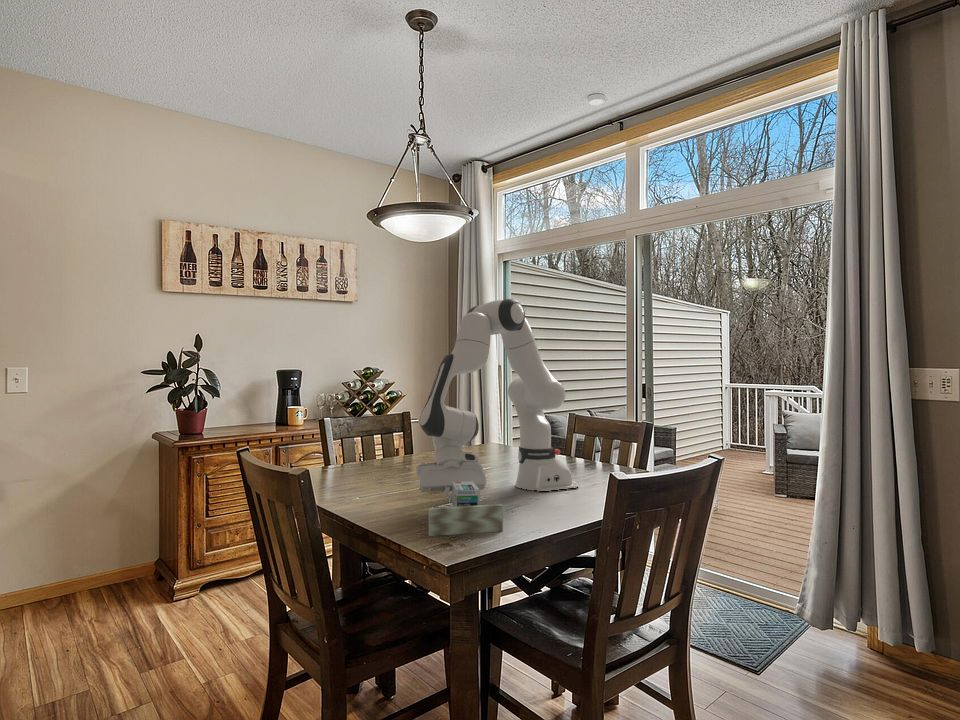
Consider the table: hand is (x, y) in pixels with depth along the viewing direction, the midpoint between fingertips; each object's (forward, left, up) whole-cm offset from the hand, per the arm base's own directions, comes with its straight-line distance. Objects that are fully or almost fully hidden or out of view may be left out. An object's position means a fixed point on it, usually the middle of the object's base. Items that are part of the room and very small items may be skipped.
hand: (455, 502), depth 169 cm
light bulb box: (-2, +6, -5) cm, 8 cm away
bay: (0, +8, -4) cm, 9 cm away
